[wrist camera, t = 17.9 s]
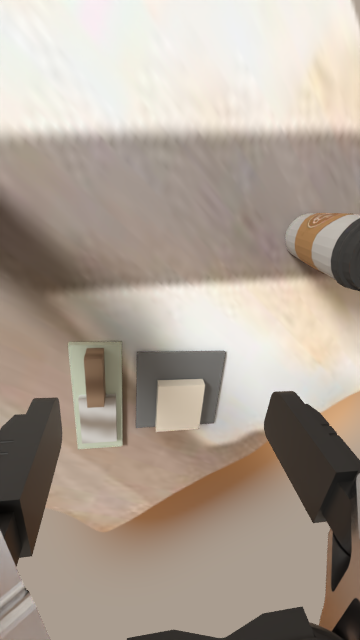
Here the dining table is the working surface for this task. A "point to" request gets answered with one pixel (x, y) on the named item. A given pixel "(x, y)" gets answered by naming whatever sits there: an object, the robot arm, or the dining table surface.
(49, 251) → the dining table surface
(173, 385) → the tile
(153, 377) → the mat
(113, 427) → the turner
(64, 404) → the dining table surface
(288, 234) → the coffee cup
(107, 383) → the board
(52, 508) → the dining table surface
